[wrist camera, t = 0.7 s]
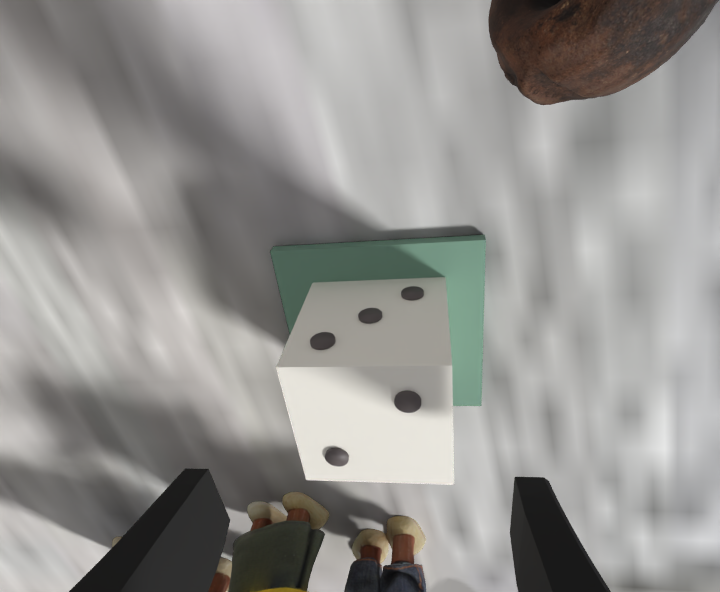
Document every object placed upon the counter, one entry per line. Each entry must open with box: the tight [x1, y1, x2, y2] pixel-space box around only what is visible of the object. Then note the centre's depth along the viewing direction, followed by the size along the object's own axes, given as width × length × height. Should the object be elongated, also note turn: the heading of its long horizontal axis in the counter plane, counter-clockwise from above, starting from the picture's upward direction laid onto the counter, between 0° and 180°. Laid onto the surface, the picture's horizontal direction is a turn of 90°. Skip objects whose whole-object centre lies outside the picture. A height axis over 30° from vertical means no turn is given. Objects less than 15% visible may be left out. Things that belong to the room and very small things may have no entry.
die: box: [276, 277, 454, 485], centre depth 14 cm, size 5×5×5 cm
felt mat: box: [270, 235, 486, 406], centre depth 17 cm, size 7×7×1 cm
